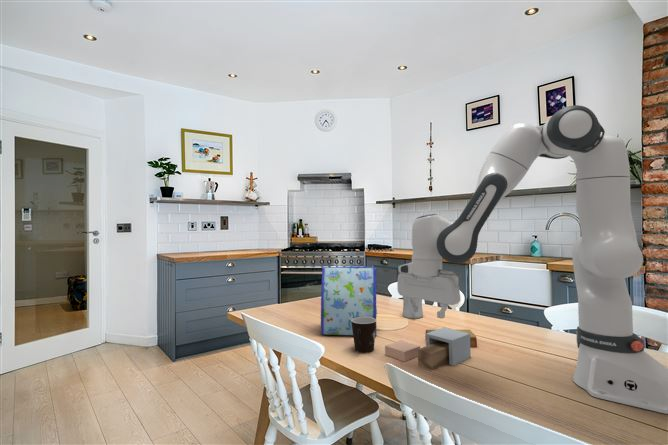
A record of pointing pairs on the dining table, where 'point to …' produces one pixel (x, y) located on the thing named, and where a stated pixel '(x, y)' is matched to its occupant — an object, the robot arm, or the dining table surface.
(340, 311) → the lunch bag
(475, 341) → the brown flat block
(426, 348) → the block
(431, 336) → the grey tunnel block
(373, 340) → the coffee mug
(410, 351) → the stand
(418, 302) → the mug
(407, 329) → the dining table surface
